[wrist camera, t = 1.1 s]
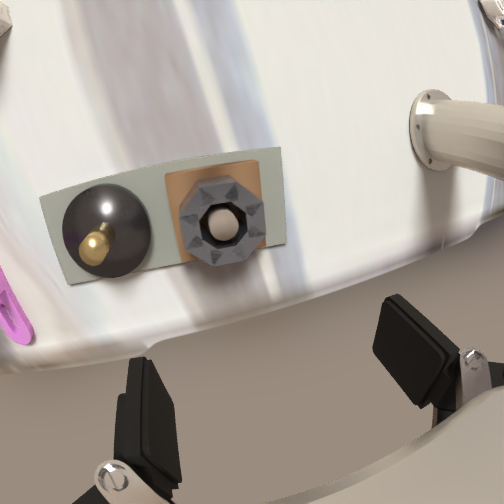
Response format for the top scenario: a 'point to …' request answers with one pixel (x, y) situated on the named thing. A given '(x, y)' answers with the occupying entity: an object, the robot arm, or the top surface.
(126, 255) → the hub
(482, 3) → the skeletal toy car
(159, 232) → the mat
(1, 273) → the bracket
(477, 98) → the top surface
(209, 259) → the ring
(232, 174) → the stand
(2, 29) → the ink box
